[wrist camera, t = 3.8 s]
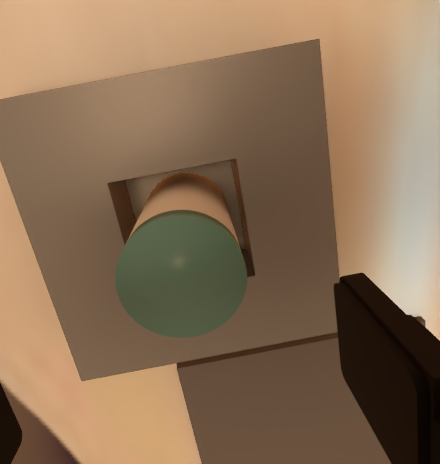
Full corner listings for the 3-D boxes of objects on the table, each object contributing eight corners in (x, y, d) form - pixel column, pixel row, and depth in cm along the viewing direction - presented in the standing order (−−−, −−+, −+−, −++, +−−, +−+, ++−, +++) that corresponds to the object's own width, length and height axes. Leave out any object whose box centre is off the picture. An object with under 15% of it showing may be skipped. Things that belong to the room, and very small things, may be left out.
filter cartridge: (218, 165, 23) (235, 206, 14) (232, 240, 25) (256, 324, 15) (138, 180, 23) (98, 232, 13) (157, 255, 25) (133, 348, 15)
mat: (420, 316, 27) (425, 320, 27) (421, 475, 33) (425, 481, 32) (177, 363, 27) (176, 368, 27) (216, 515, 32) (217, 522, 32)
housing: (296, 50, 21) (319, 38, 17) (322, 298, 26) (343, 330, 23) (17, 103, 21) (-21, 103, 17) (97, 341, 26) (81, 381, 23)
